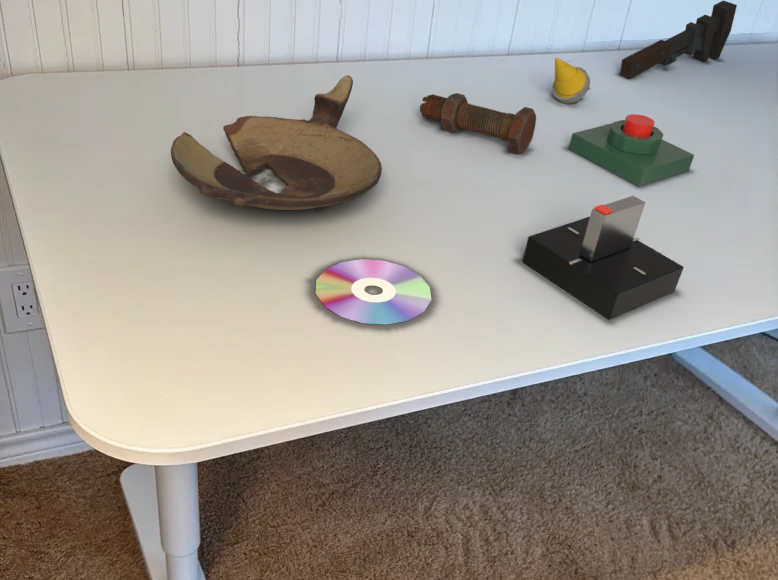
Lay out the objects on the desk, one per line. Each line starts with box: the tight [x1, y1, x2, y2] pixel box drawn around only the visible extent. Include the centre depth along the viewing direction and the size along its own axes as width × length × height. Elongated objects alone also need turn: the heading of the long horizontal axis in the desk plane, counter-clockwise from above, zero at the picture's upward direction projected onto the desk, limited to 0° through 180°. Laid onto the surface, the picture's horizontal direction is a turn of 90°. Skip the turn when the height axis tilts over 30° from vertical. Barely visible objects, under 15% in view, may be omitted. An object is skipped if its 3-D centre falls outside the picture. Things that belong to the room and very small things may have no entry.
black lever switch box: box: [522, 215, 685, 321], centre depth 84 cm, size 12×10×3 cm
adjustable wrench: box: [619, 0, 738, 80], centre depth 137 cm, size 8×3×25 cm
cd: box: [315, 258, 432, 325], centre depth 79 cm, size 11×11×1 cm
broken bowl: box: [170, 74, 383, 211], centre depth 92 cm, size 22×30×8 cm
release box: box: [568, 119, 695, 187], centre depth 107 cm, size 12×10×4 cm
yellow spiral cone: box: [551, 57, 591, 105], centre depth 119 cm, size 5×5×10 cm
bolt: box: [419, 92, 537, 155], centre depth 108 cm, size 6×5×15 cm
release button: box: [622, 113, 656, 137], centre depth 105 cm, size 4×4×2 cm
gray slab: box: [580, 195, 646, 262], centre depth 81 cm, size 6×2×5 cm, turn 126°
